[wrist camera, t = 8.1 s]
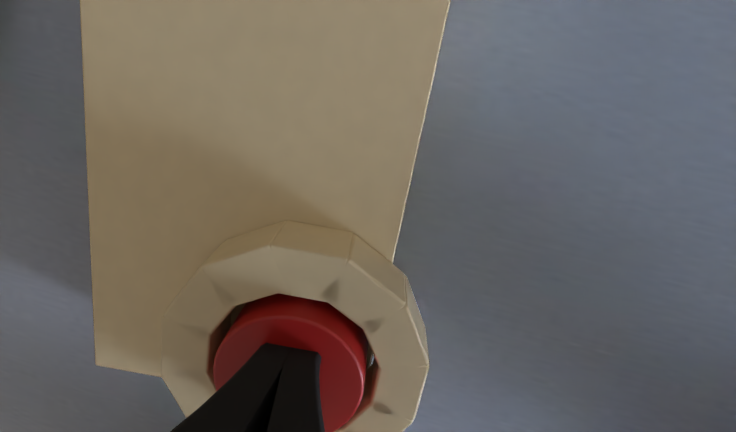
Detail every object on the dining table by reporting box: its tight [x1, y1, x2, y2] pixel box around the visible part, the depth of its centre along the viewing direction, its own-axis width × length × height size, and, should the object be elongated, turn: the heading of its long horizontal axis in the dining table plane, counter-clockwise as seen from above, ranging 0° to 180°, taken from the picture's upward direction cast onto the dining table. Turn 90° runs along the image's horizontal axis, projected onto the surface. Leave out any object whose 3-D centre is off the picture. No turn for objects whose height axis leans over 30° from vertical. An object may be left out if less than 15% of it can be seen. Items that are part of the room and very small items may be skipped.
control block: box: [80, 0, 451, 432], centre depth 11 cm, size 15×9×4 cm, turn 170°
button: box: [213, 293, 368, 432], centre depth 11 cm, size 4×4×2 cm
